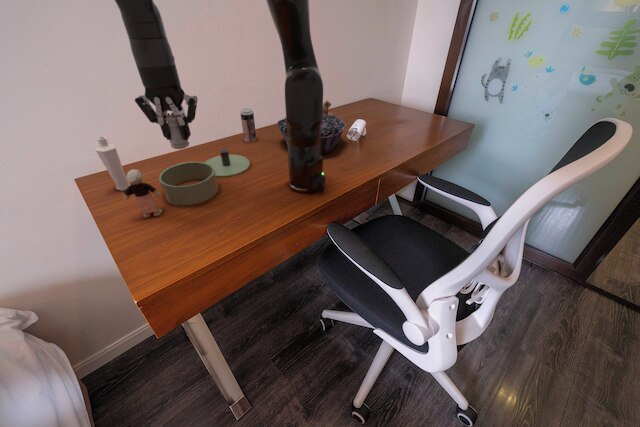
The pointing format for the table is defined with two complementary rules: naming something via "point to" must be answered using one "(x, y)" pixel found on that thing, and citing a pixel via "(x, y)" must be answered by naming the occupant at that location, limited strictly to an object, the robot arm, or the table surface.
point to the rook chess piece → (175, 132)
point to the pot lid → (228, 164)
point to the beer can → (248, 125)
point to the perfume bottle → (112, 163)
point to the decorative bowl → (322, 131)
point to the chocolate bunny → (326, 107)
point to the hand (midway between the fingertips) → (178, 138)
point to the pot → (189, 192)
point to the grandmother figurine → (142, 194)
